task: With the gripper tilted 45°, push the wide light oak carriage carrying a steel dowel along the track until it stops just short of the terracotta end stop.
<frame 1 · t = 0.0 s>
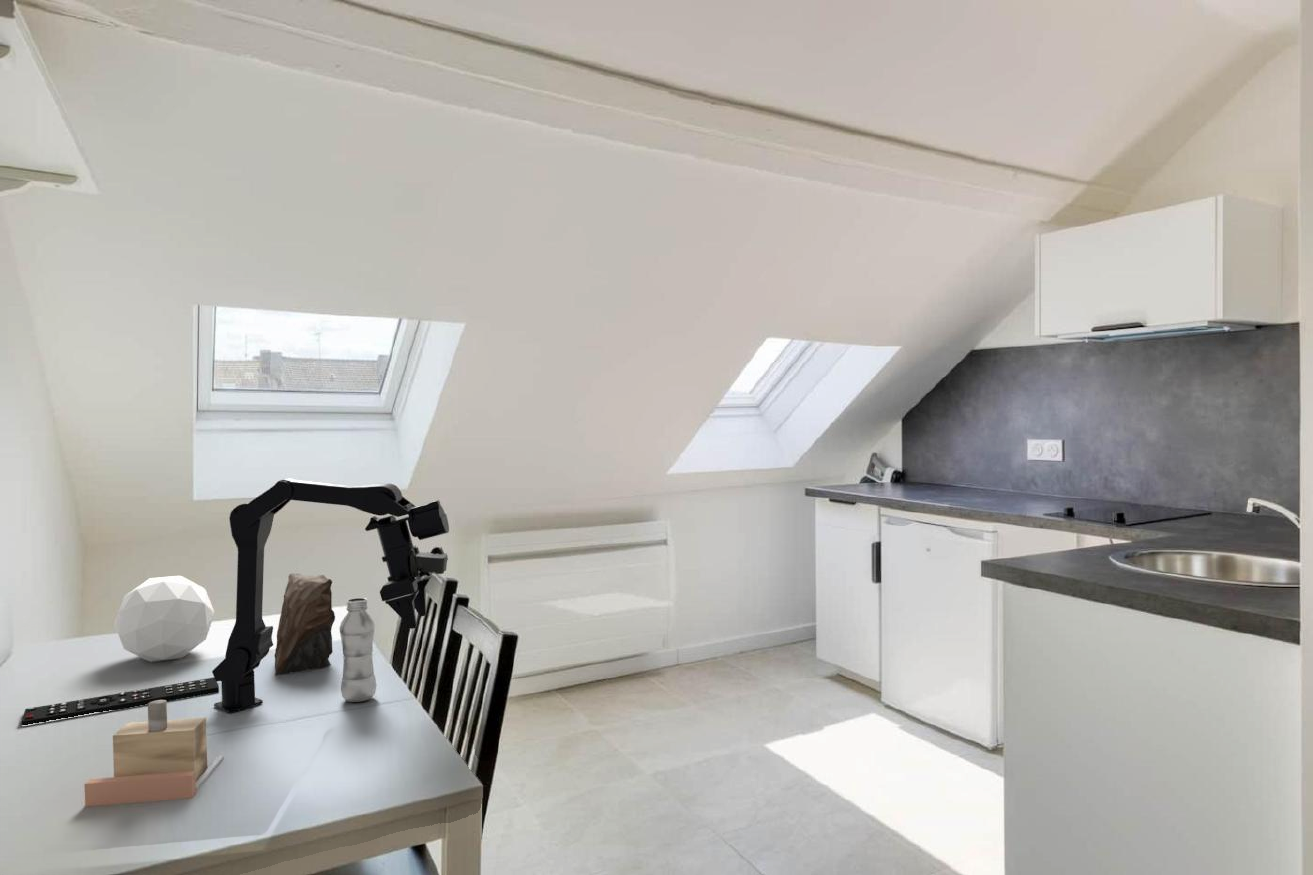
hand: (418, 621, 158), 15 cm above the table, tool pointing down, fingers open, 9 cm apart
remote control: (125, 706, 157), on the table
plastic bottle: (358, 701, 158), on the table
carriage: (161, 739, 121), point 7 cm above the table, slide at 0.0 cm
brown rock: (297, 667, 179), on the table
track: (159, 789, 121), on the table
ball: (166, 658, 185), on the table
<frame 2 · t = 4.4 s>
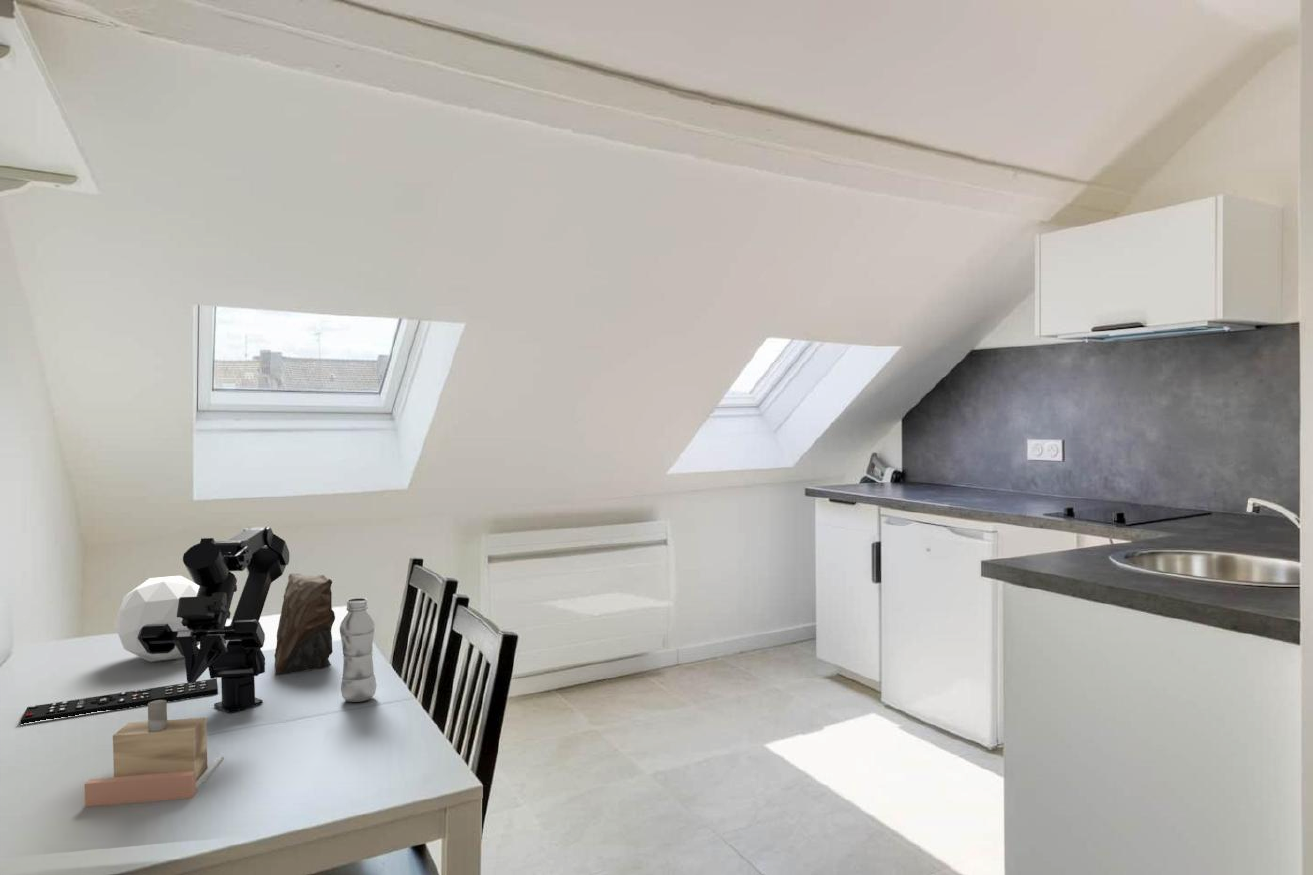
hand: (190, 682, 132), 12 cm above the table, tool tilted 45°, fingers closed
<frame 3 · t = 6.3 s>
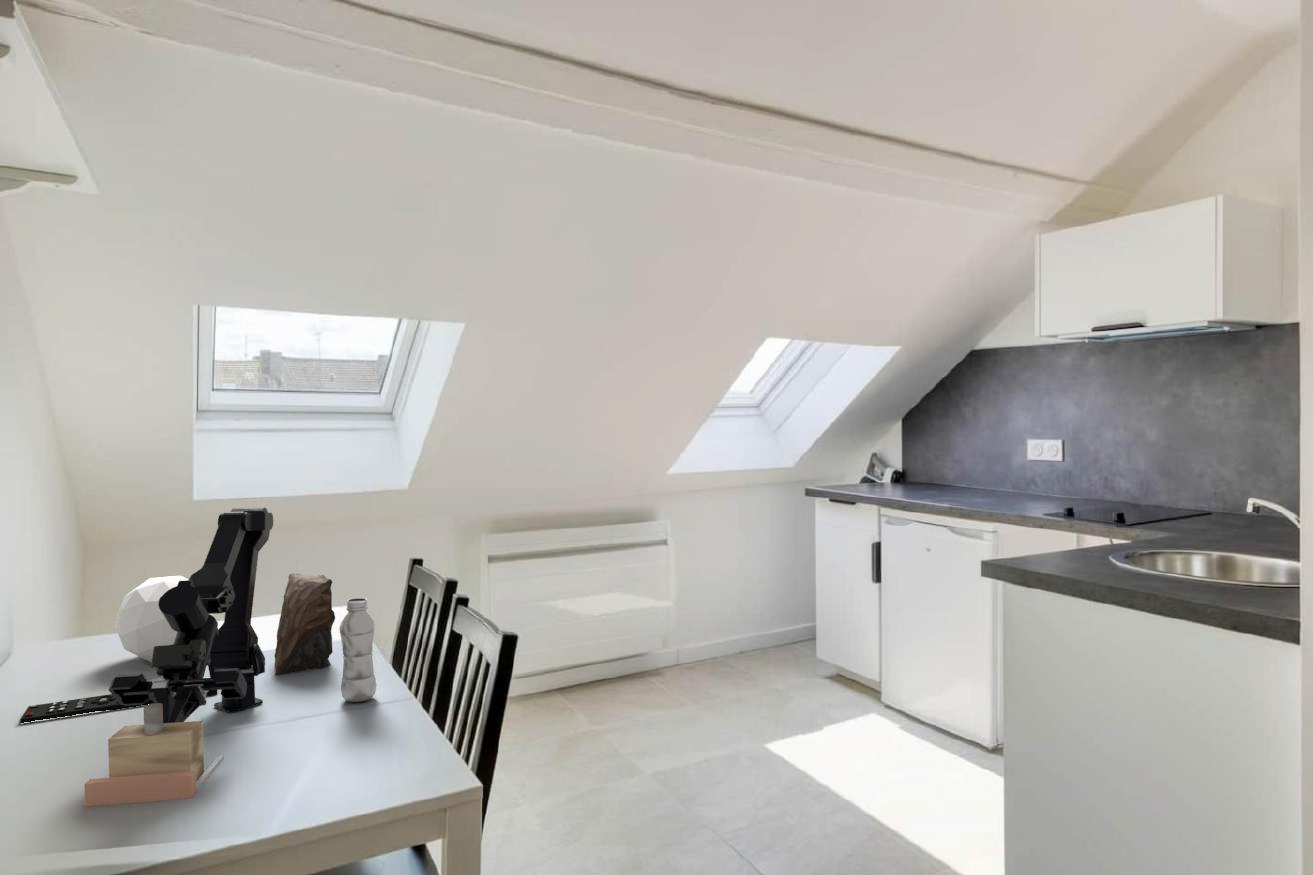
hand: (165, 738, 123), 7 cm above the table, tool tilted 45°, fingers closed, pressing on carriage
carriage: (157, 742, 120), point 7 cm above the table, slide at 1.4 cm, touching gripper
everything else where it was.
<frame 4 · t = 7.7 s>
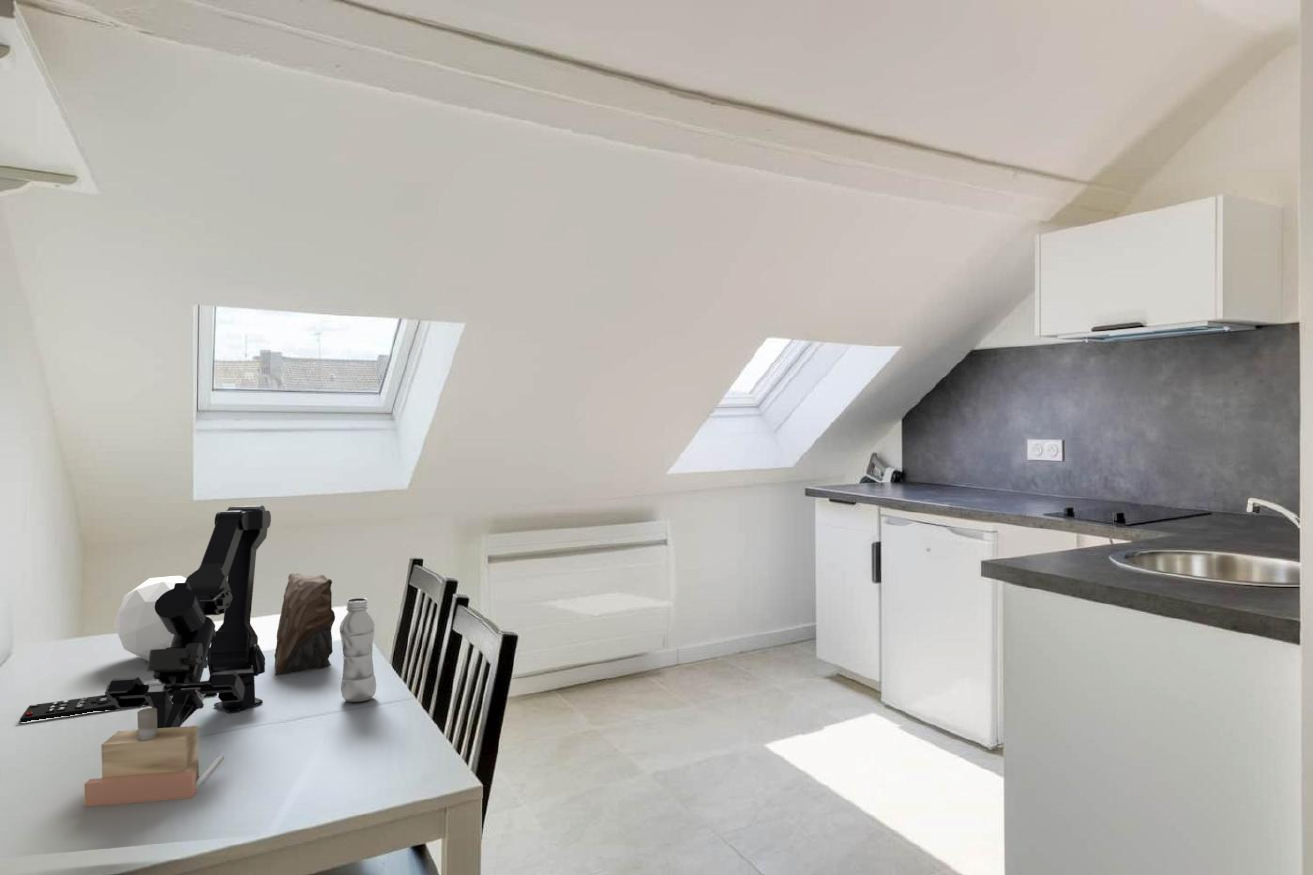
hand: (162, 742, 122), 7 cm above the table, tool tilted 45°, fingers closed
carriage: (151, 748, 118), point 7 cm above the table, slide at 3.3 cm
everything else where it was.
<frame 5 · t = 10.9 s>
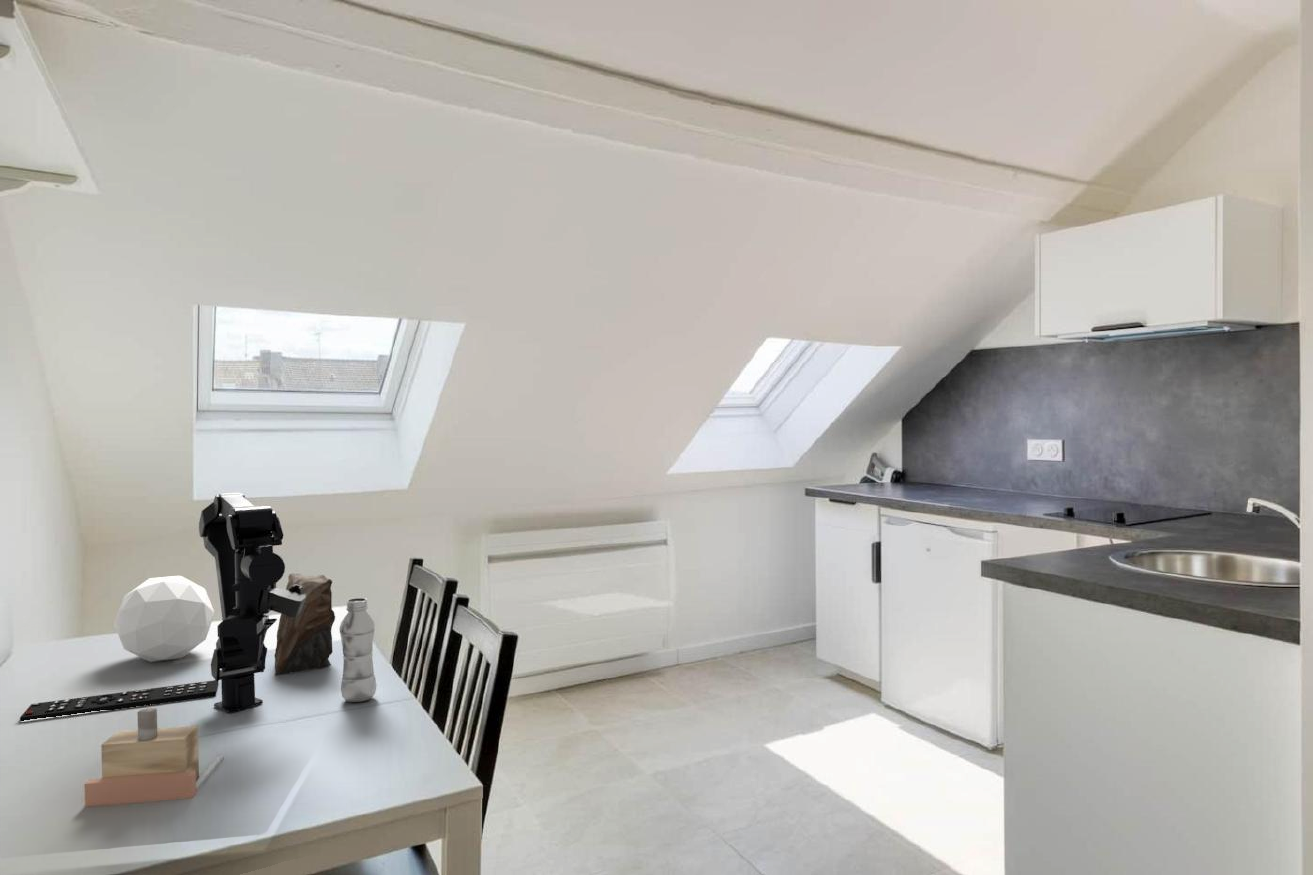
hand: (255, 662, 143), 12 cm above the table, tool pointing down, fingers closed
at the end: carriage slide at 3.3 cm; the gripper is holding nothing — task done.
